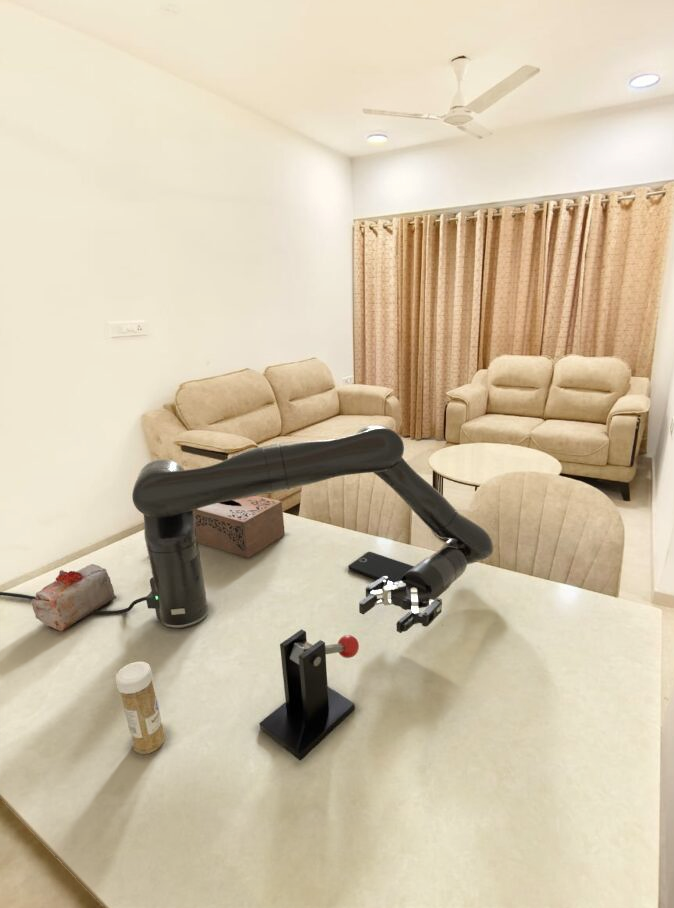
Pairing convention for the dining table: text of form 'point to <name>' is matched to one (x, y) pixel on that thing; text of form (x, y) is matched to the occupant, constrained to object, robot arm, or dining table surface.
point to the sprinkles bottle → (141, 706)
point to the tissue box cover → (240, 524)
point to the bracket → (305, 701)
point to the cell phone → (380, 567)
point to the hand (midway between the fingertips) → (378, 618)
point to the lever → (329, 648)
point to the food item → (73, 596)
